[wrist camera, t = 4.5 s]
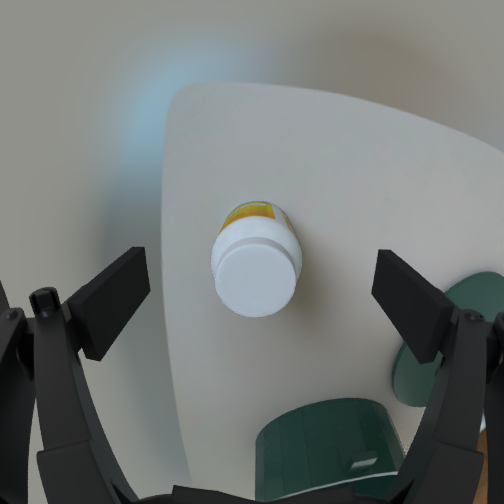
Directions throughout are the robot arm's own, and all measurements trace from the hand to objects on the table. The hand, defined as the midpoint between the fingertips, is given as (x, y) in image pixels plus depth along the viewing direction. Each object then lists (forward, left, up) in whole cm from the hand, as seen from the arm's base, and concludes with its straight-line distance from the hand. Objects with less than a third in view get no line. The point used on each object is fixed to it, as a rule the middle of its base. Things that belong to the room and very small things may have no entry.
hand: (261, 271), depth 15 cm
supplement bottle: (0, 0, -8) cm, 8 cm away
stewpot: (+10, -30, -8) cm, 33 cm away
